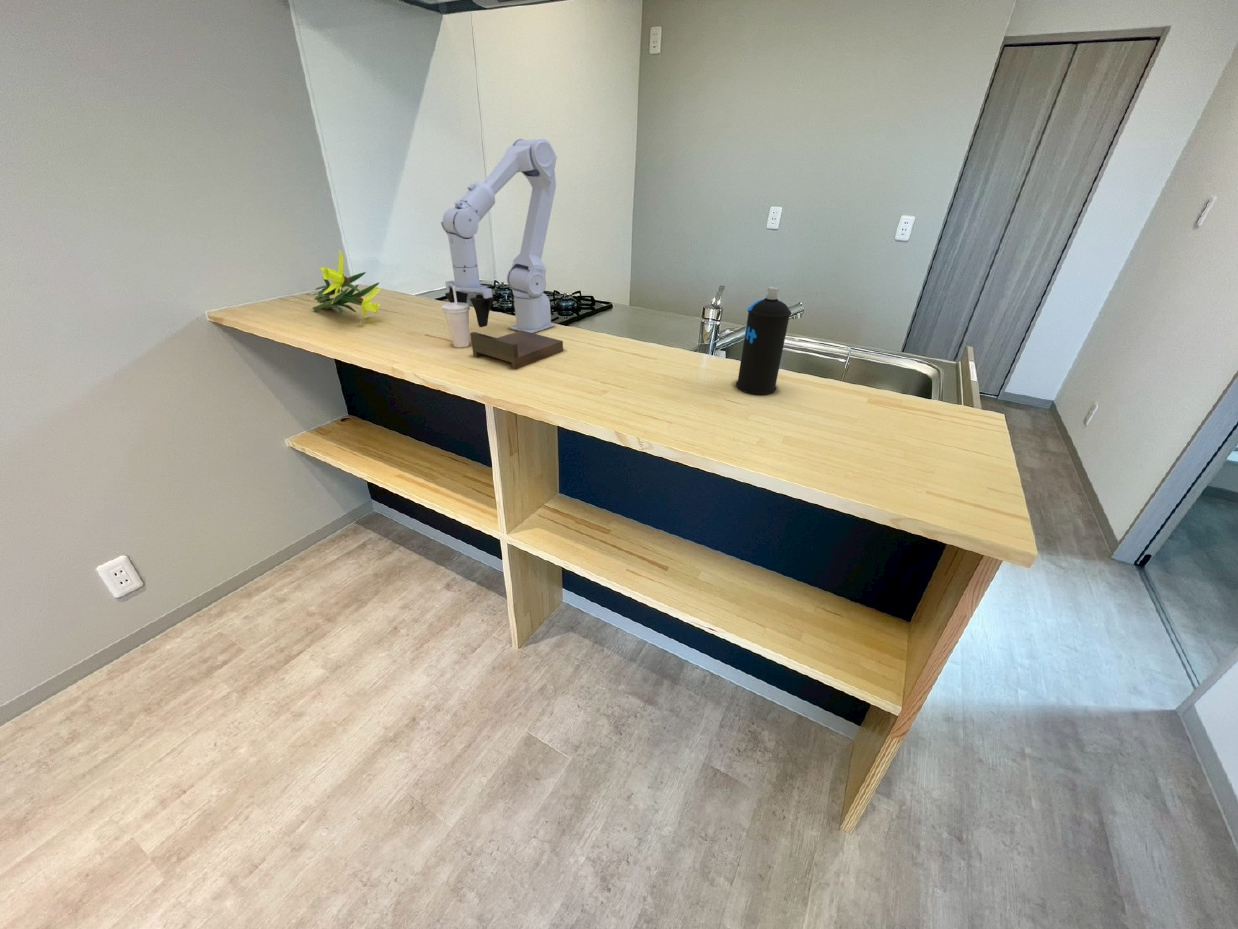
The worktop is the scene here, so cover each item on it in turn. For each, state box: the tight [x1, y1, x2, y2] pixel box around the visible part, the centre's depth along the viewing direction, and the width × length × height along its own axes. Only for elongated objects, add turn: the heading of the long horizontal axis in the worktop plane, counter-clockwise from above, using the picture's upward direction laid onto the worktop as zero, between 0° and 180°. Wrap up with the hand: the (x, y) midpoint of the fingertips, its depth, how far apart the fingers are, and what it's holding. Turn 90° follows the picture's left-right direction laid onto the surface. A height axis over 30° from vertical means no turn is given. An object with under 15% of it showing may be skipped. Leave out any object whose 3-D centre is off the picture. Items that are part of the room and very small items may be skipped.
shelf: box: [469, 330, 564, 370], centre depth 116 cm, size 16×14×6 cm
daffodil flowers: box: [311, 249, 383, 326], centre depth 136 cm, size 17×15×35 cm
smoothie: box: [441, 286, 471, 349], centre depth 118 cm, size 6×6×14 cm
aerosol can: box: [735, 286, 792, 396], centre depth 97 cm, size 8×8×20 cm
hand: (473, 323), depth 123 cm, fingers open, 7 cm apart
